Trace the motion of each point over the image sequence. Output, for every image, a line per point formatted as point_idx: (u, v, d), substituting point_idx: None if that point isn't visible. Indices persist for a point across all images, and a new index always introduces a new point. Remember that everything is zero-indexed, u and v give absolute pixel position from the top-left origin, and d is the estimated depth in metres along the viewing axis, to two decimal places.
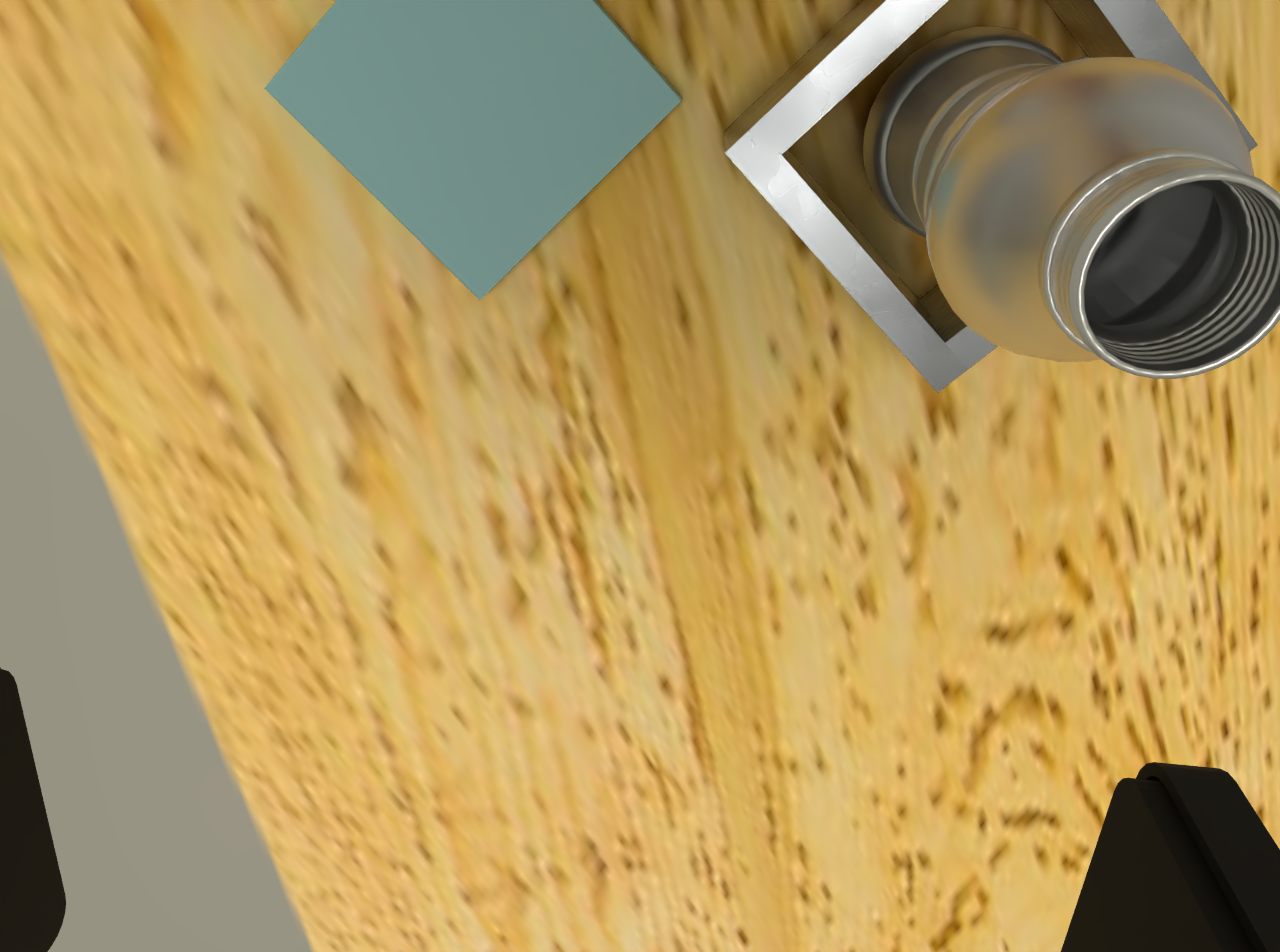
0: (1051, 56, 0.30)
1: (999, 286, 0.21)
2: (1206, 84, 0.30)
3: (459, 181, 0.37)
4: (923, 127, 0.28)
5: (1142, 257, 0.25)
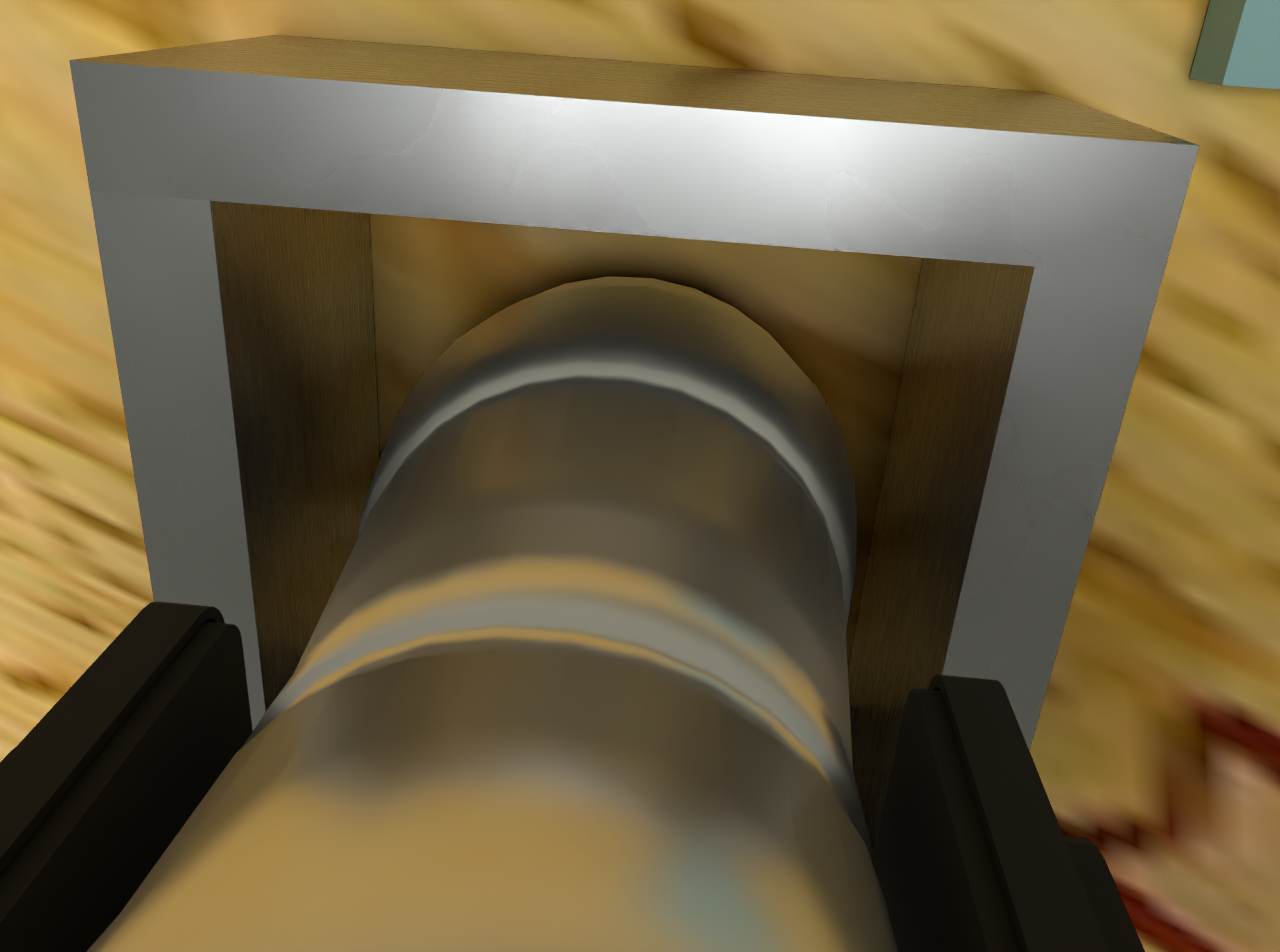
0: None
1: None
2: None
3: None
4: (844, 735, 0.09)
5: None
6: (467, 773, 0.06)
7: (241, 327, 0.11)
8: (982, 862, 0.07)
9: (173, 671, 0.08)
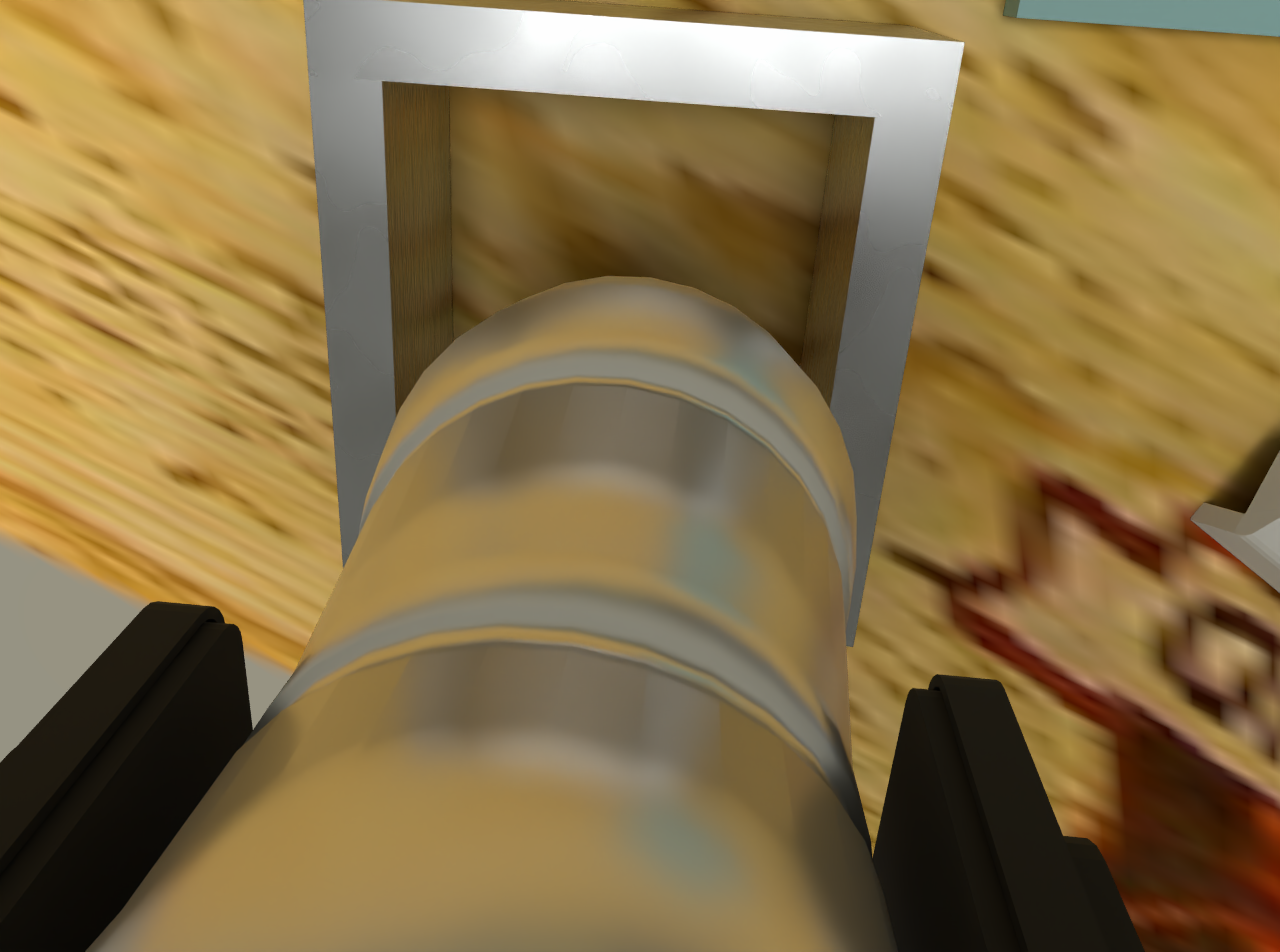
0: None
1: None
2: None
3: None
4: (843, 733, 0.09)
5: None
6: (466, 770, 0.06)
7: (392, 166, 0.18)
8: (981, 862, 0.07)
9: (173, 671, 0.08)
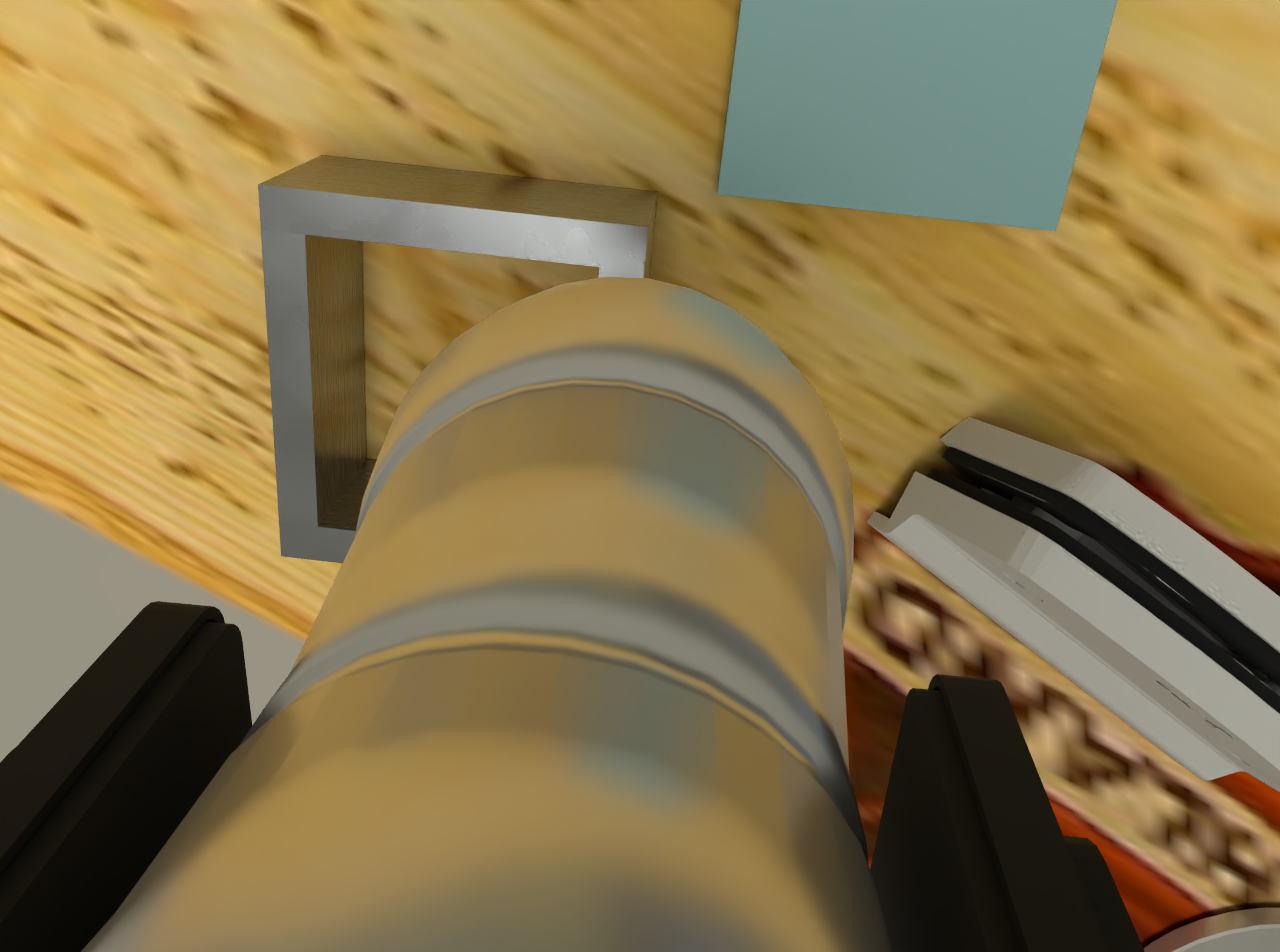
0: None
1: None
2: None
3: None
4: (840, 734, 0.09)
5: None
6: (460, 773, 0.06)
7: (312, 282, 0.29)
8: (982, 862, 0.07)
9: (173, 671, 0.08)
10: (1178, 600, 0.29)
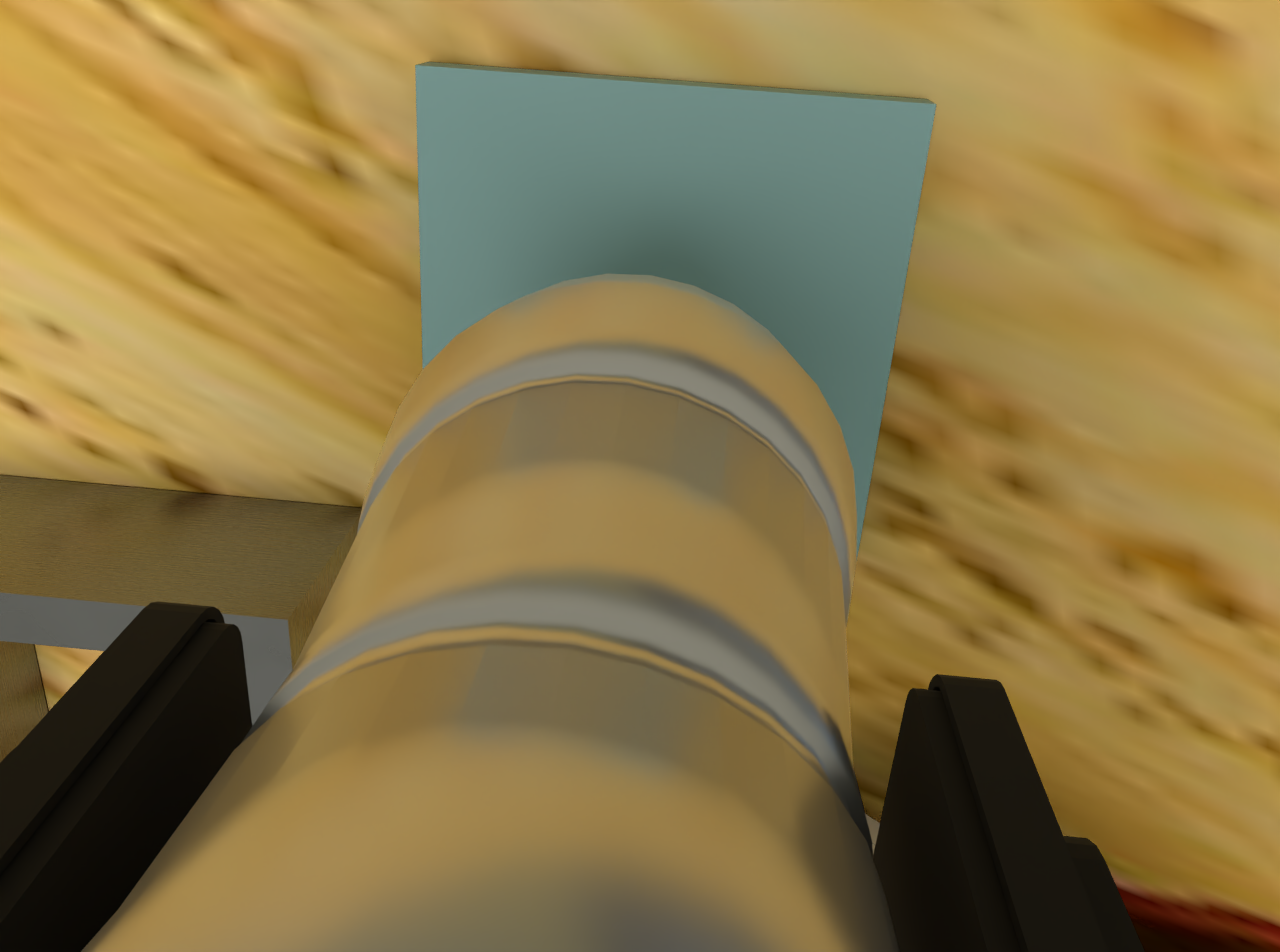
0: None
1: None
2: None
3: (582, 214, 0.21)
4: (844, 731, 0.09)
5: None
6: (465, 769, 0.06)
7: None
8: (982, 862, 0.07)
9: (173, 671, 0.08)
10: None
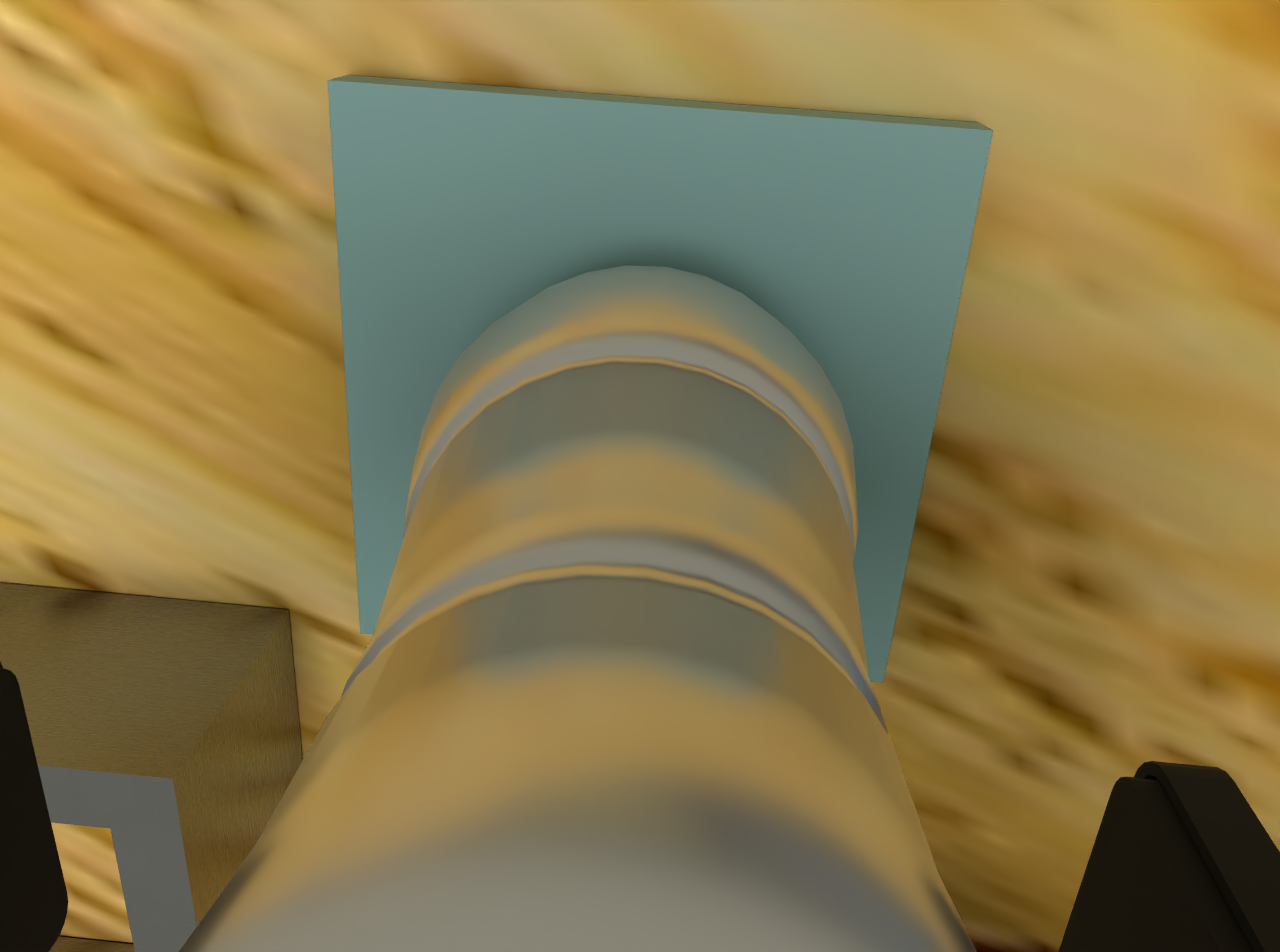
0: None
1: None
2: None
3: (542, 267, 0.17)
4: (863, 660, 0.10)
5: None
6: (583, 670, 0.07)
7: None
8: None
9: None
10: None
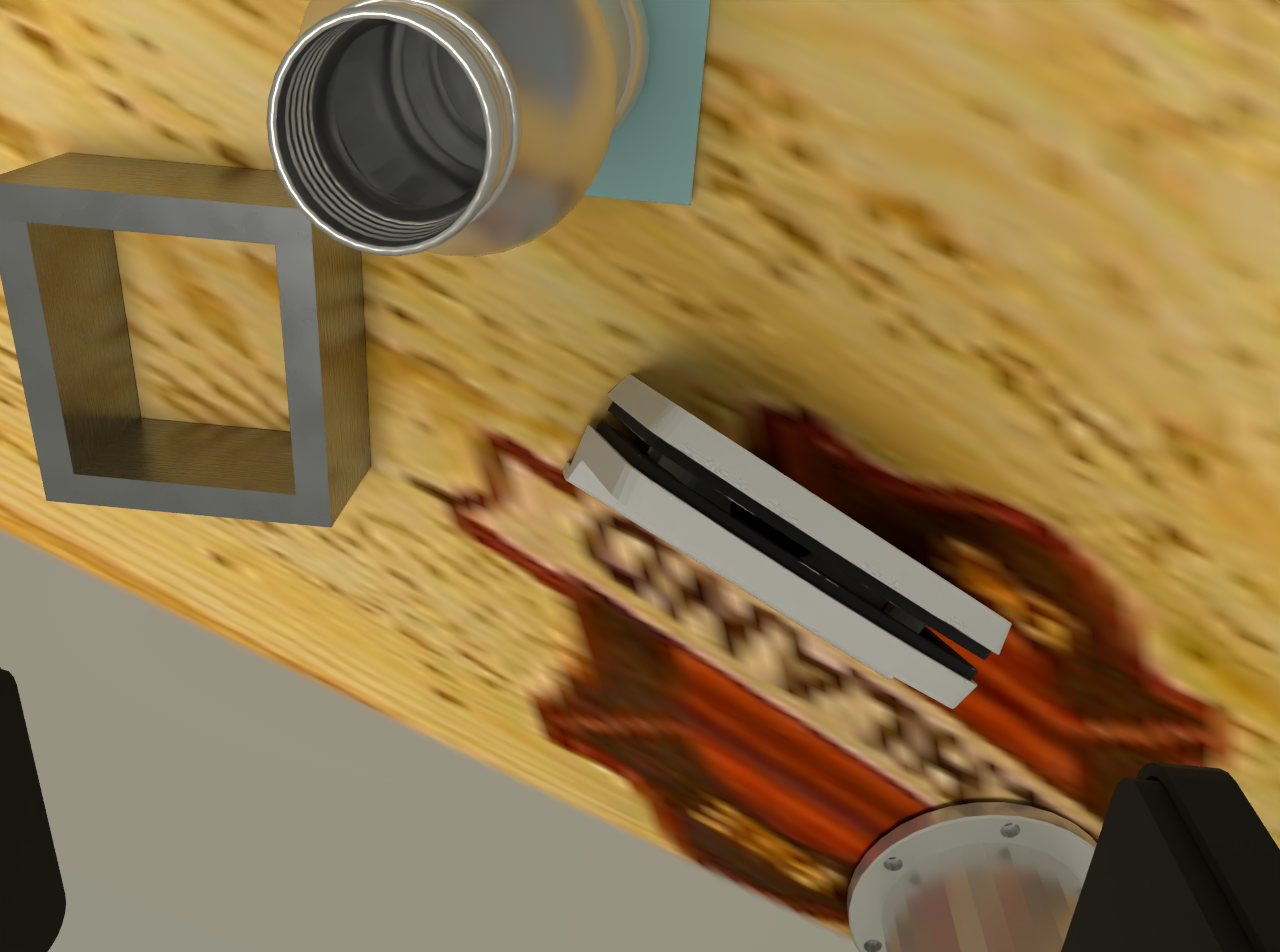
0: None
1: None
2: (112, 502, 0.38)
3: None
4: (608, 25, 0.26)
5: (361, 101, 0.23)
6: None
7: (41, 262, 0.35)
8: None
9: None
10: None
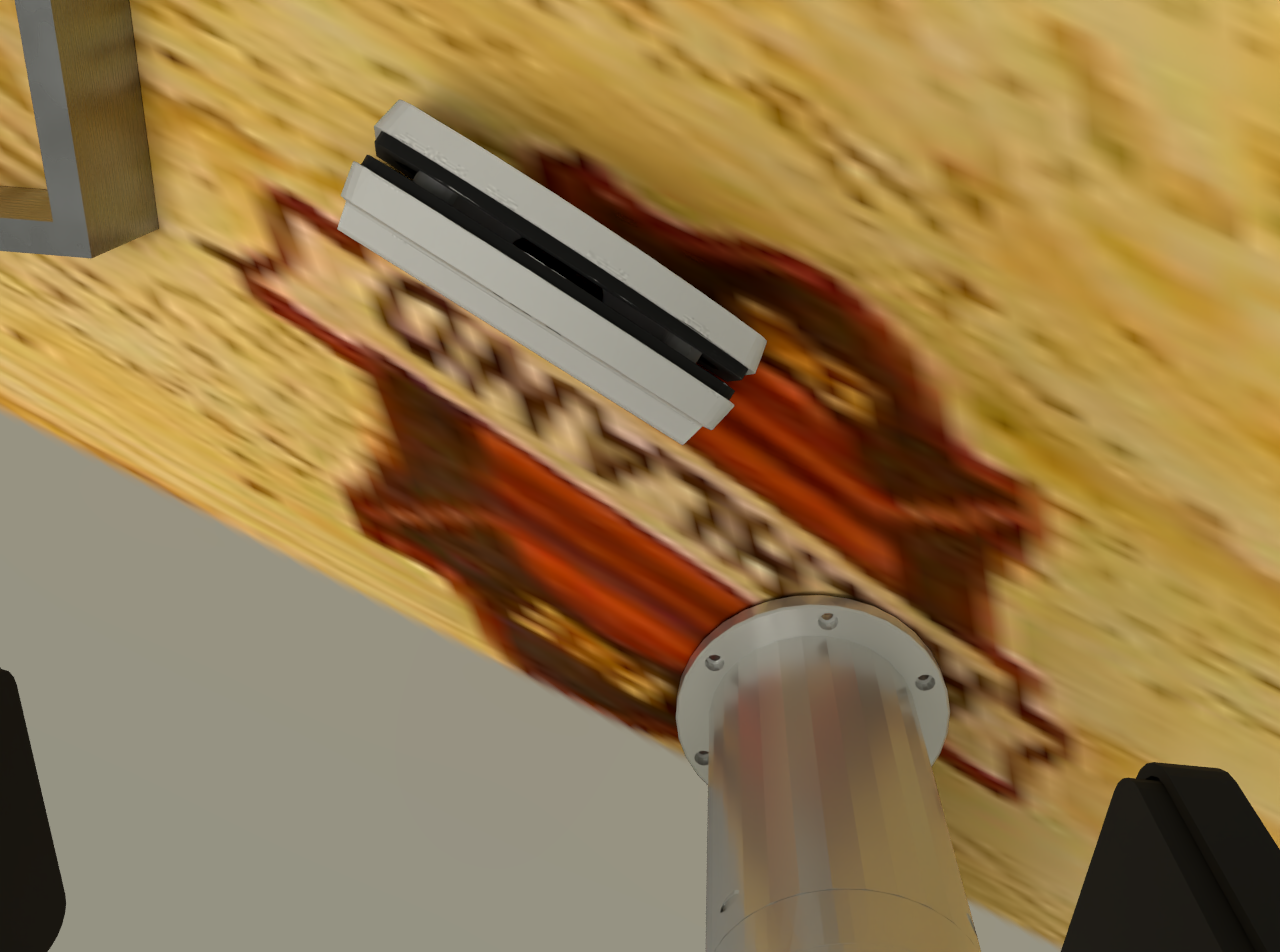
0: None
1: None
2: None
3: None
4: None
5: None
6: None
7: None
8: None
9: None
10: (486, 212, 0.34)
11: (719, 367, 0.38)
